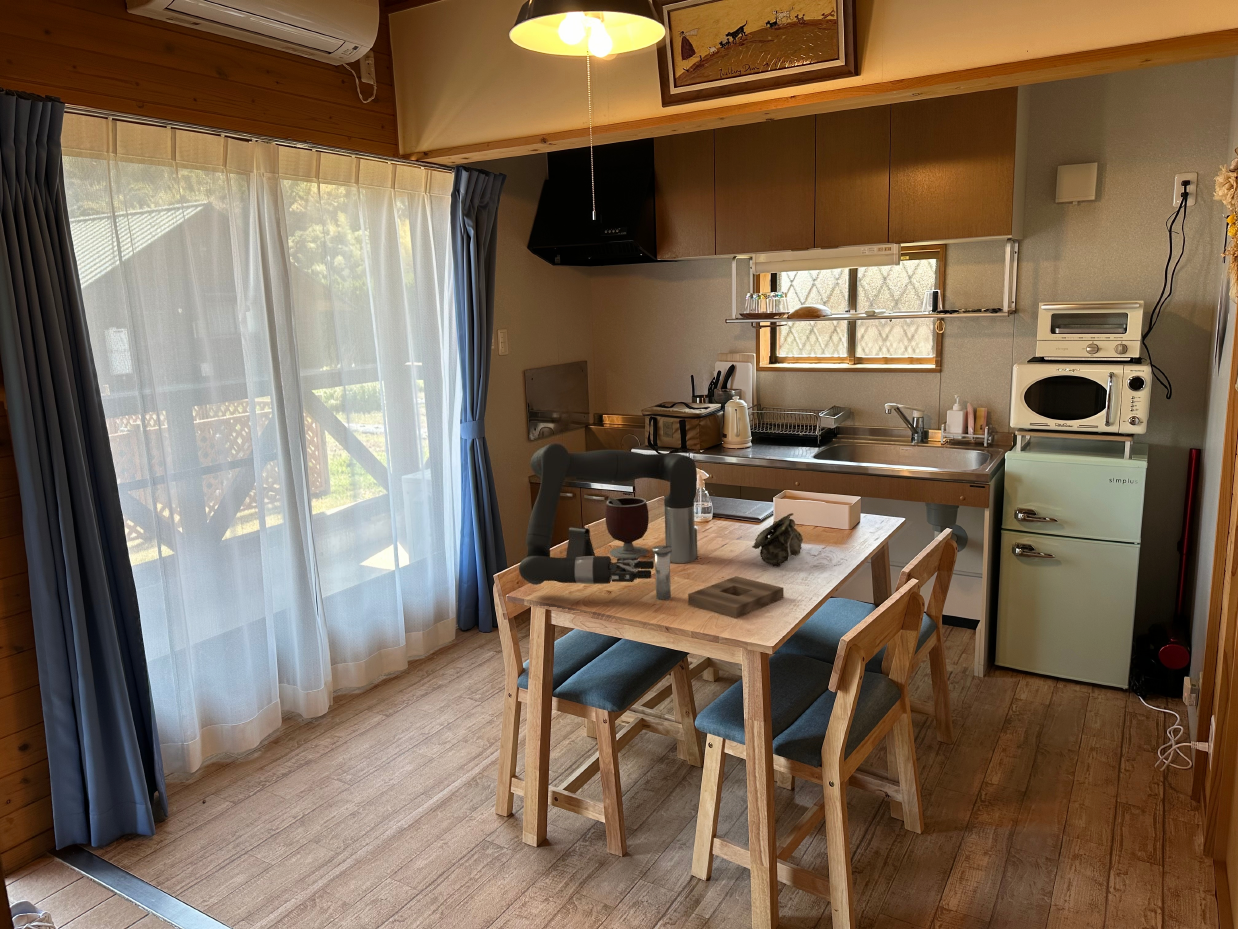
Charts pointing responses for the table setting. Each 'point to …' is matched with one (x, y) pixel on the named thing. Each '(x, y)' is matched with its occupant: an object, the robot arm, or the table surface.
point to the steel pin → (662, 571)
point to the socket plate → (735, 596)
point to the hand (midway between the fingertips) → (652, 569)
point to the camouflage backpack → (779, 542)
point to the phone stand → (579, 543)
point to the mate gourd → (627, 524)
